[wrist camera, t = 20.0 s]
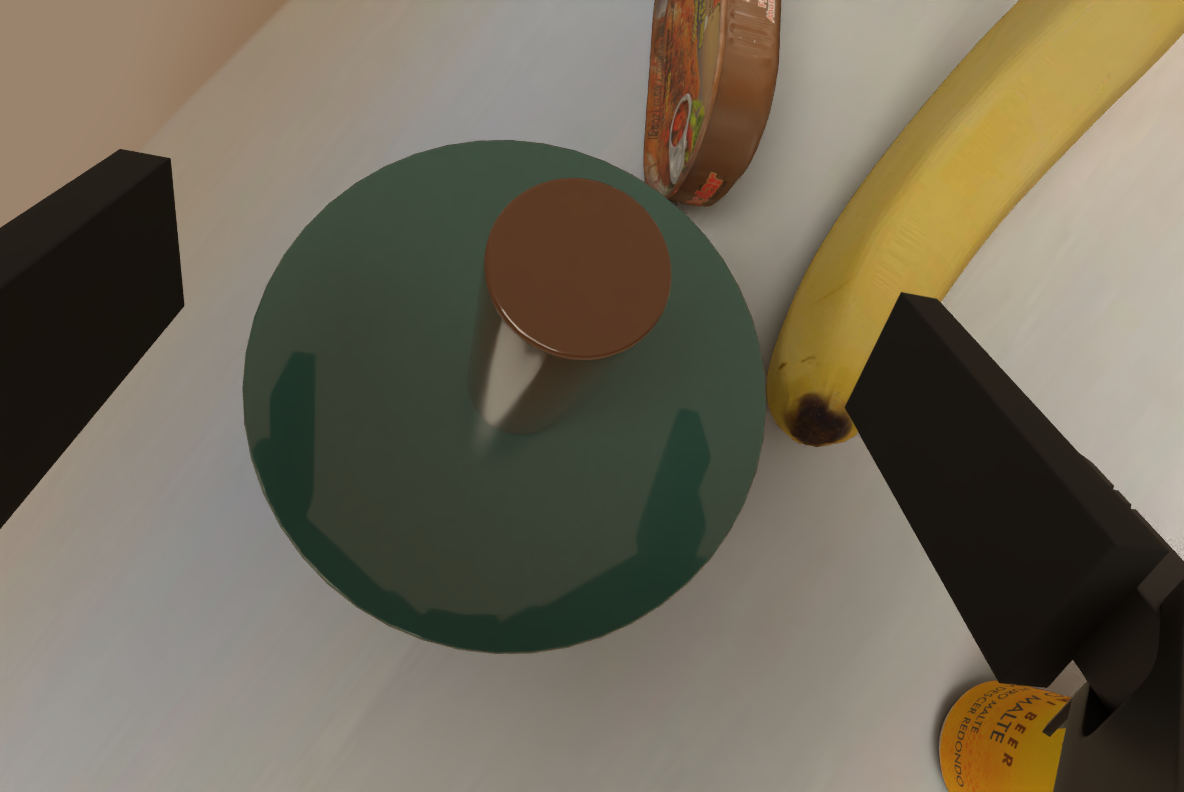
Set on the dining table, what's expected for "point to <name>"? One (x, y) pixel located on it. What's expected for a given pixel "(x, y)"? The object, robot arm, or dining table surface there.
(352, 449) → the jar lid
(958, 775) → the beer can
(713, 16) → the tin
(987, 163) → the banana
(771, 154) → the dining table surface
